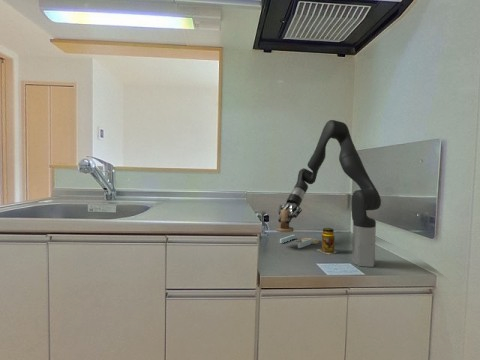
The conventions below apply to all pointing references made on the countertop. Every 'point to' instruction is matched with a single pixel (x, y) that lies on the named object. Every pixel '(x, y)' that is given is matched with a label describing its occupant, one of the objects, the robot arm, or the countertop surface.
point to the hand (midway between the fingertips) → (283, 221)
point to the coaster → (313, 240)
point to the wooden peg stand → (284, 222)
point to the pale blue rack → (298, 241)
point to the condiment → (327, 241)
